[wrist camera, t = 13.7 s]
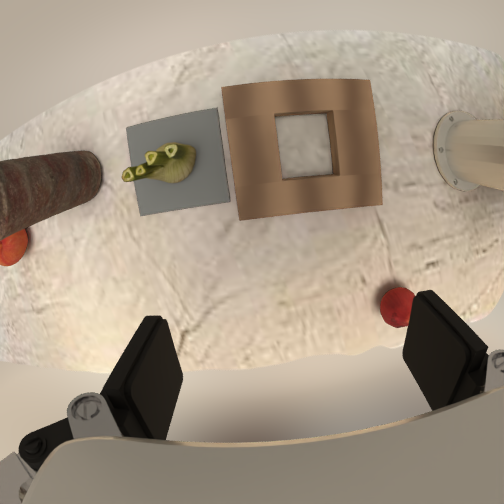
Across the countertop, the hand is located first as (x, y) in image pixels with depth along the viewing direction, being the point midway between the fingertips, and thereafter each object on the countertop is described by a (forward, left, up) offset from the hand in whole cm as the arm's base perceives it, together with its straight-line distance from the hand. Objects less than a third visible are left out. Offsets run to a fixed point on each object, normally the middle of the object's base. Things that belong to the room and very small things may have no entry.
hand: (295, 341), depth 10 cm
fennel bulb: (+10, -7, -28) cm, 30 cm away
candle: (+24, -8, -29) cm, 38 cm away
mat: (+10, -7, -28) cm, 31 cm away
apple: (+40, -2, -29) cm, 49 cm away
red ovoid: (-18, +16, -29) cm, 37 cm away
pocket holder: (-6, -7, -28) cm, 30 cm away
